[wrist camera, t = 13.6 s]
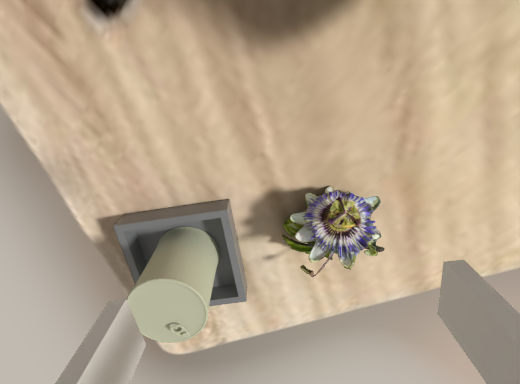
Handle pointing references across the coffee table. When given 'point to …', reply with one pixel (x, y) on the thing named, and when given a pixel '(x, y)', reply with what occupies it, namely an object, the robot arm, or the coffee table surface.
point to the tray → (195, 215)
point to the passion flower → (334, 227)
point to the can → (176, 286)
